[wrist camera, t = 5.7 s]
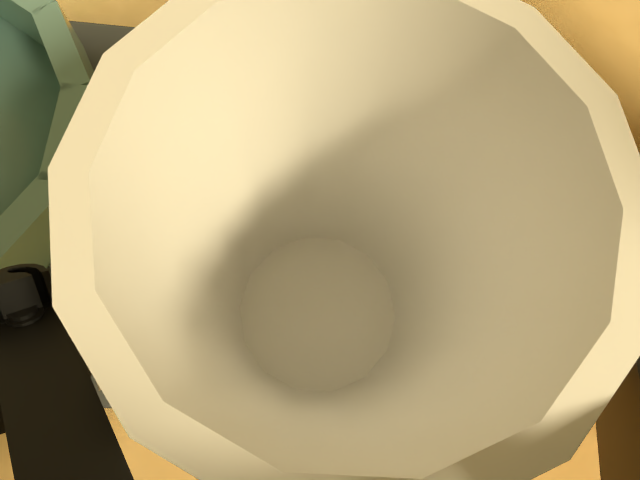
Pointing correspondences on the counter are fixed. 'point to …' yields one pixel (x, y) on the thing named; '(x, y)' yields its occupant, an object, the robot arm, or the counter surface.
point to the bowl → (34, 119)
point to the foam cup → (349, 239)
